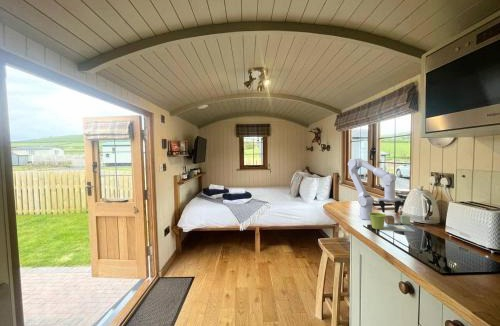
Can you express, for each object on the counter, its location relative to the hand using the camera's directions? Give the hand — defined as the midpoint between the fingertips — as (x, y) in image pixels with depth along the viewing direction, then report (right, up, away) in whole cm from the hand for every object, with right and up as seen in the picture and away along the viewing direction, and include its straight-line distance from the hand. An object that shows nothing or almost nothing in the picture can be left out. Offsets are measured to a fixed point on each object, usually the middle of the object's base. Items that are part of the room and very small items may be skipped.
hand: (389, 212), depth 146 cm
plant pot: (-13, -8, -8) cm, 17 cm away
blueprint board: (0, -8, -10) cm, 13 cm away
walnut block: (0, -8, 0) cm, 8 cm away
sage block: (+10, -7, 0) cm, 13 cm away
